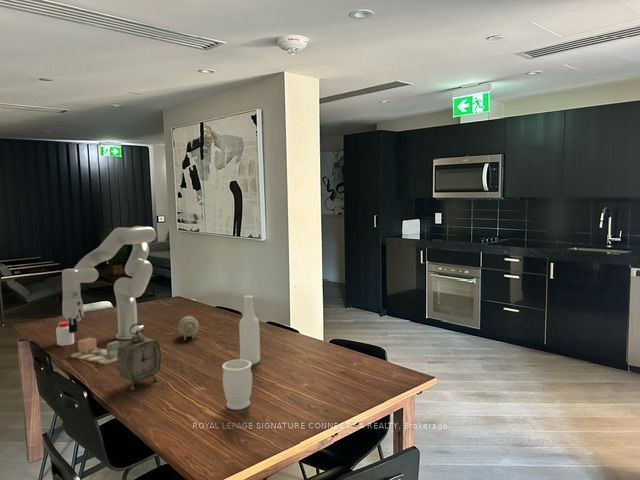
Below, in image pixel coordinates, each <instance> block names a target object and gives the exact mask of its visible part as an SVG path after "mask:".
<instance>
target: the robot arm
mask: <svg viewBox="0 0 640 480" xmlns="http://www.w3.org/2000/svg"><path fill="white" fill-rule="evenodd" d="M156 237H157V232H156V230H155V228H153V227H151V226H146V225H145V226H142V225H141V226H140V225H135V226H132V227H115V229H113V230H112V231H111V232H110V233H109V235H107V237H106V238H104V240H103V242H101V244H100V245H99V246H98V247H97V248H95V249H94V250H92V251H90V252H89V253H87V254H86V255H84V257H82V258H81V259H80V260H79V261H78V262H77V264H75V266H74V267H73V268H66V269H63V270H62V272H61V283H62V284H61V285H62V287H61V288H62V303H61V304H62V306H61V308H62V310H61V311H62V313H61V314H62V317H63V318H64V319H65V321H68V324H69V333H74V334H75V333H77V332H78V324H79V322H80V321H82V318H84V317H85V313H84V303H83V299H82V297H81V295H82V294H81V284H82V283H84V284H85V283H87V284H88V283H93V282H95V281H97V279H99V276H100V275H99V274H100V273H99V271H98V269H96V268H95V266H97V265H99V264H100V263H103V262H106V261H108V260H111V259H112V258H113V257H115V255H116V254H117V253H118V252H119V250H121V248H122V247H123V246H124V245H132V250H131V252H130V255H129V257H128V260H127V262H126V264H125V266H124V272H125V274H126V275H128V276H129V277H120V278H118V279H117V280H115V282H114V284H113V290H114V291H113V292H114V295H115V300H116V313H117V330H118V331H117V332H118V333H116V334H115V339H118V340H131V338H132V336H133V335H135V334H131V333H130V332H129V330H130V327H131V326H132V325H134V324H136V323H138V312H137V311H138V310H137V300H136V298H139V297H141V296H142V295H143V294H144V293H145V290H146V289H147V286H148V284H149V282H150V280H151V278H152V277H151V276H152V275H153V265H152V263H151V262H150V261H148V260H147V258H148V256H149V254H150V253H149V252H150V247H149V244H148V243H152V242H153V241H154V240H155V239H156ZM130 277H131V278H130ZM143 328H144V326H143V325H142V324H139V325H135V326H133V327H132V328H131V332H132V333H136V330H139V331H141V330H142V329H143ZM144 329H145V328H144ZM139 334H142V332H141V333H139Z"/></svg>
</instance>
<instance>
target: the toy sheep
mask: <svg viewBox="0 0 640 480" xmlns="http://www.w3.org/2000/svg"><path fill="white" fill-rule="evenodd" d="M199 328H200V324H199V321H198V319H196V318H195V317H193V316H189V315H188V316H184V317H182V319H180V321H179V322H178V325H177V329H178V332H179V334H181V335H182V336H183V340H184V341H186V340H187V337H189V338H190V337H191V339H192V340H194V339H195V335H196V334H197V333H198V331H199Z"/></svg>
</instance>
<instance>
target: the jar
mask: <svg viewBox="0 0 640 480" xmlns="http://www.w3.org/2000/svg"><path fill="white" fill-rule="evenodd" d="M221 366H222V367H221V368H222V370H223V374H222V387H223V392H224V396H225V399H226V401H227V402H226V408H228V409H230V410H235V411H236V410H237V411H239V410H243V409H246V408H248V407H249V406H250V405H251V400H250V397H251V395H252V387H253V374H252V370H251V369H252V366H253V365H252V363H251V362H250V361H248V360H243V359H232V360H228V361H226V362H224V363H223V364H222V365H221Z"/></svg>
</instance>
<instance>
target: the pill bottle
mask: <svg viewBox="0 0 640 480" xmlns="http://www.w3.org/2000/svg"><path fill="white" fill-rule="evenodd" d="M57 324H58V325H57V327H56V329H55V331H56V334H55V335H56V345H57V346H58V345H60V346H59V347H64V346H65V345H66V346H69V345H70V346H71V345H72V344H74V343H75V332H74V333H69V324H68V321H67V320H64V321H59V322H58V323H57Z"/></svg>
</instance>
